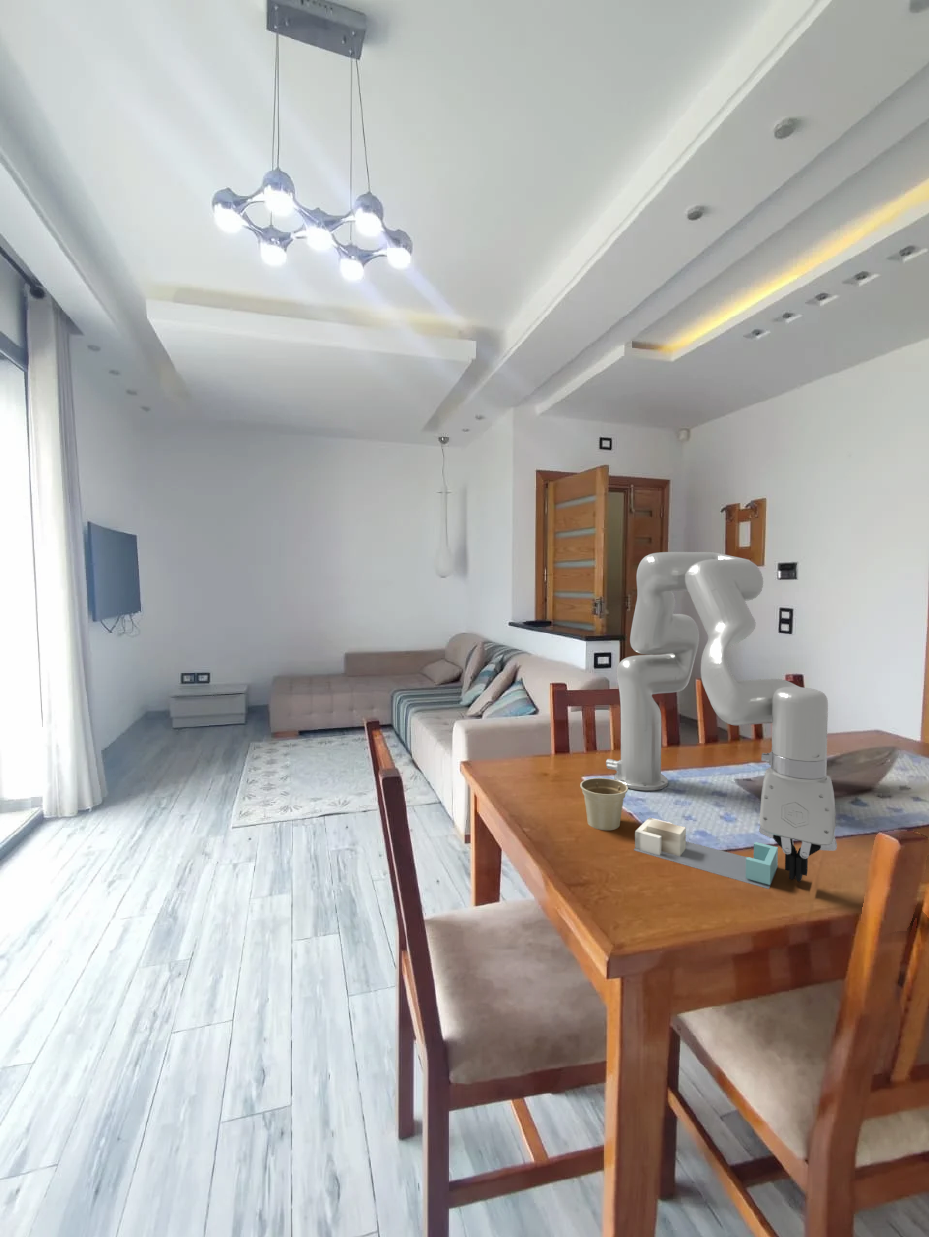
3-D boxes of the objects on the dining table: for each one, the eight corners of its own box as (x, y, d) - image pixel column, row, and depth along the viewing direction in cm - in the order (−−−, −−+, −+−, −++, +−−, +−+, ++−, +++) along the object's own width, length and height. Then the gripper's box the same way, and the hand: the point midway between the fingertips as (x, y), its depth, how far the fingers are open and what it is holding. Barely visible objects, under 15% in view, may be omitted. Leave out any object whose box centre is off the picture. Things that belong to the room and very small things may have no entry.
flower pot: (629, 820, 115) (629, 780, 115) (626, 840, 107) (626, 796, 106) (583, 815, 119) (583, 775, 118) (577, 834, 110) (577, 791, 109)
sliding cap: (745, 878, 90) (745, 859, 90) (754, 859, 96) (755, 841, 96) (769, 884, 88) (770, 865, 88) (777, 865, 94) (777, 847, 94)
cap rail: (633, 854, 101) (633, 832, 101) (650, 835, 108) (650, 816, 108) (768, 893, 88) (769, 869, 87) (778, 869, 95) (778, 847, 95)
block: (646, 846, 102) (646, 825, 102) (652, 839, 105) (653, 819, 105) (679, 856, 98) (680, 834, 98) (685, 848, 101) (685, 827, 101)
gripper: (741, 763, 90) (740, 872, 91) (854, 782, 81) (851, 903, 82) (751, 751, 96) (749, 854, 97) (856, 767, 86) (853, 881, 88)
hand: (796, 876), depth 89 cm, fingers closed
